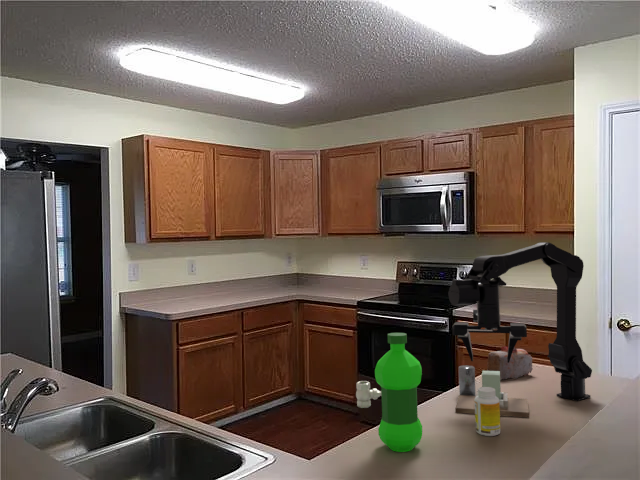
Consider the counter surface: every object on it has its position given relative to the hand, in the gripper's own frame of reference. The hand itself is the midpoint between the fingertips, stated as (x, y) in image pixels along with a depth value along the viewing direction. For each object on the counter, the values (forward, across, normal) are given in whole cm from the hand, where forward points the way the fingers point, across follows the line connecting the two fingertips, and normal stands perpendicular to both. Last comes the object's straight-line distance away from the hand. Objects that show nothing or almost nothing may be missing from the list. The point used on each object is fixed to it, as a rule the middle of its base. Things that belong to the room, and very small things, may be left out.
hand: (490, 361), depth 146 cm
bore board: (+12, 0, 0) cm, 12 cm away
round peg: (+12, +7, -11) cm, 18 cm away
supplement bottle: (+12, 0, +19) cm, 23 cm away
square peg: (+11, 0, 0) cm, 11 cm away
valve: (+13, +30, +4) cm, 33 cm away
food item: (+13, -5, -35) cm, 38 cm away
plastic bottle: (+13, +18, +33) cm, 40 cm away
